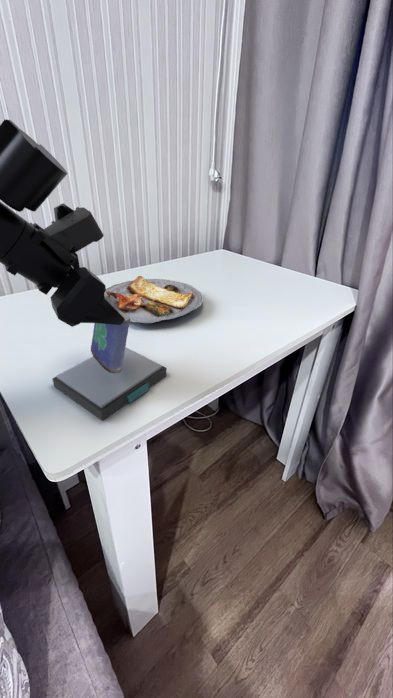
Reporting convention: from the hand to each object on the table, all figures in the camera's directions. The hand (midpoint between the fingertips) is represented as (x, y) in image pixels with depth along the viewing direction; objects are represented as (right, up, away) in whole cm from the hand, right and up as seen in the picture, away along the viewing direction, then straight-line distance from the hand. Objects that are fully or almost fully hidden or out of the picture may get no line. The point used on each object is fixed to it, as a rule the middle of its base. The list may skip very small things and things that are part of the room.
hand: (111, 308), depth 49 cm
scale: (-2, -12, +6) cm, 13 cm away
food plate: (+1, +5, +32) cm, 33 cm away
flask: (-2, -8, +4) cm, 9 cm away
